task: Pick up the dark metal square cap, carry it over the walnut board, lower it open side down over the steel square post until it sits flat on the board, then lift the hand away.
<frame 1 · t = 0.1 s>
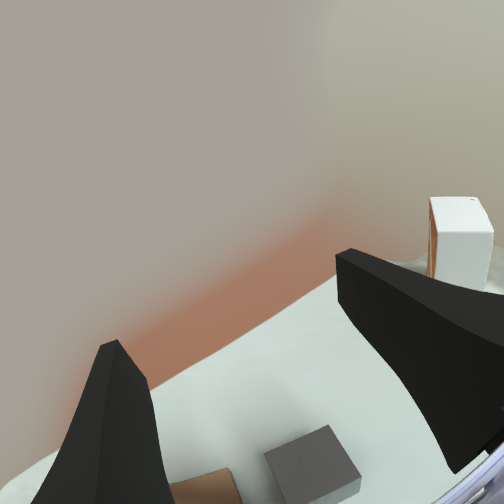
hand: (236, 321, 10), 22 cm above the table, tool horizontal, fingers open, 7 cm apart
square cap: (316, 483, 21), on the table
small box: (448, 307, 34), on the table
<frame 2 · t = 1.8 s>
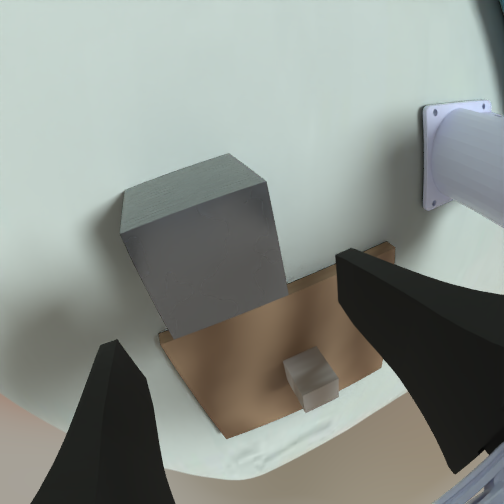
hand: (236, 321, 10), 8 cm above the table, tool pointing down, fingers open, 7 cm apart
square cap: (192, 218, 16), on the table
post board: (296, 355, 25), on the table
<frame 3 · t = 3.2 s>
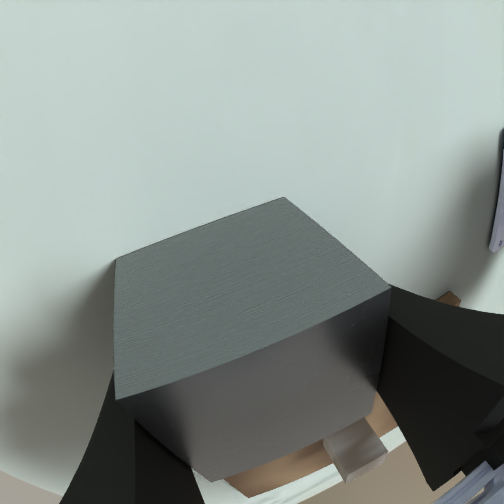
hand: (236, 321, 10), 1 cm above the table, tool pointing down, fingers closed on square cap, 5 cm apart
square cap: (224, 295, 11), on the table, touching gripper
post board: (334, 419, 19), on the table
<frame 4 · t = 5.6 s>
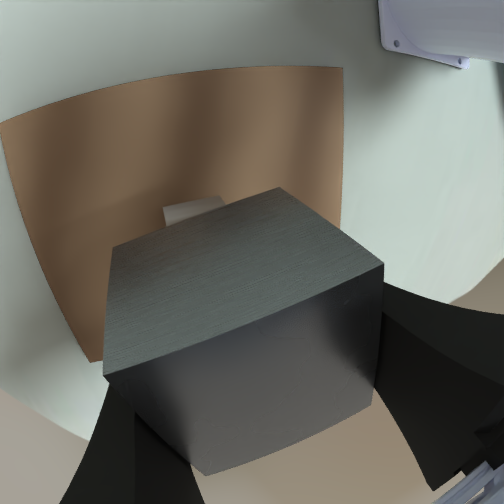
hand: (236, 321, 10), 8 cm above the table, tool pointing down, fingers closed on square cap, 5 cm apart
square cap: (220, 286, 11), point 7 cm above the table, touching gripper
post board: (191, 219, 17), on the table
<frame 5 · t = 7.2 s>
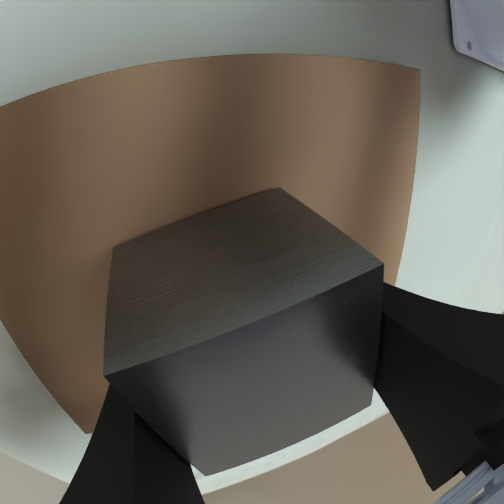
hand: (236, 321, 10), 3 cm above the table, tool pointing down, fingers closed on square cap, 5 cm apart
square cap: (220, 286, 11), point 1 cm above the table, touching gripper
post board: (213, 272, 12), on the table
when the fingers open (3 cm above the table, at t = 8.2 s): square cap stays where it is, resting on post board.
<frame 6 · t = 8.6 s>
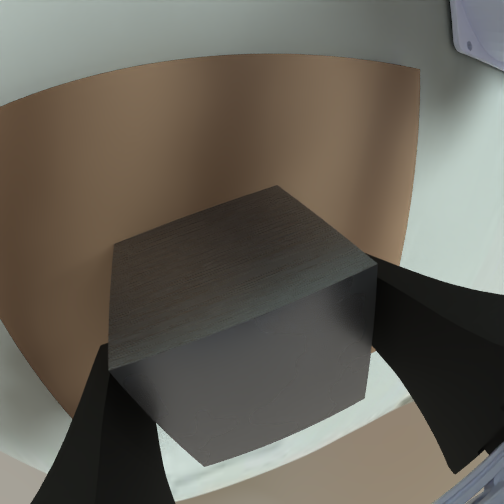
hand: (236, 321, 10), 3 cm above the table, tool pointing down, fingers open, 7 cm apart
square cap: (218, 281, 11), point 1 cm above the table, touching post board
post board: (213, 271, 12), on the table
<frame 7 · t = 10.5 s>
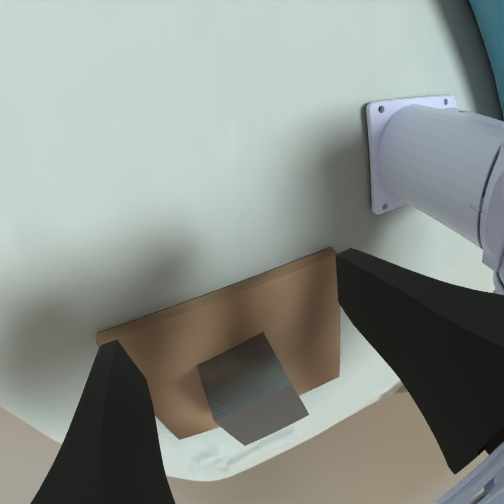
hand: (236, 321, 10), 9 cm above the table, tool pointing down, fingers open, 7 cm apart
square cap: (242, 367, 23), point 1 cm above the table, touching post board
post board: (240, 360, 24), on the table
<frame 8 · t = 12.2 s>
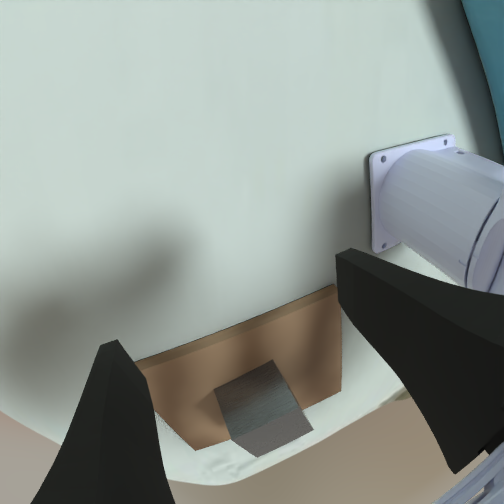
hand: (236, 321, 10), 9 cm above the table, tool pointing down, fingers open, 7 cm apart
square cap: (254, 389, 26), point 1 cm above the table, touching post board
post board: (251, 382, 27), on the table
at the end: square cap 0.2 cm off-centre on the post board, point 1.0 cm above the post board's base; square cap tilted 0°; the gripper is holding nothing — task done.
